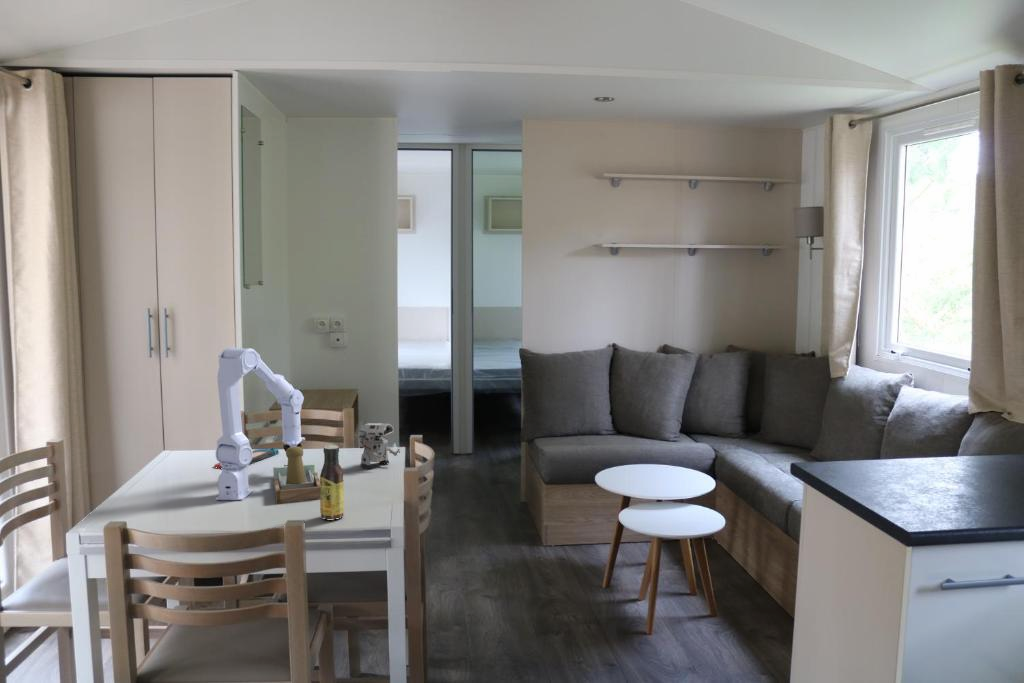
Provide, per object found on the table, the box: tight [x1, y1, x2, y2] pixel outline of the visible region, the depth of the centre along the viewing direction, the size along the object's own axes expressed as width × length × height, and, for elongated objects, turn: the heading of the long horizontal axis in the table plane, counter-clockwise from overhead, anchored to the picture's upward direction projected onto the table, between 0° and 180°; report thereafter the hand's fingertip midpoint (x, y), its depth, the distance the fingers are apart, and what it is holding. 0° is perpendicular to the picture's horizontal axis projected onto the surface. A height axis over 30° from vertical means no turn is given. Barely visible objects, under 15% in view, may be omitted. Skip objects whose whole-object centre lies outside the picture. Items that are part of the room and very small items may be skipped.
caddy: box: [273, 472, 320, 504], centre depth 237 cm, size 17×13×4 cm
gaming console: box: [214, 448, 280, 469], centre depth 276 cm, size 24×3×10 cm
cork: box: [285, 447, 306, 484], centre depth 240 cm, size 6×6×11 cm
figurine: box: [359, 422, 401, 470], centre depth 265 cm, size 9×12×15 cm
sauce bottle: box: [319, 444, 345, 519], centre depth 213 cm, size 6×6×20 cm
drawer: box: [272, 463, 316, 490], centre depth 246 cm, size 19×13×3 cm, turn 19°
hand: (293, 466), depth 256 cm, fingers closed
